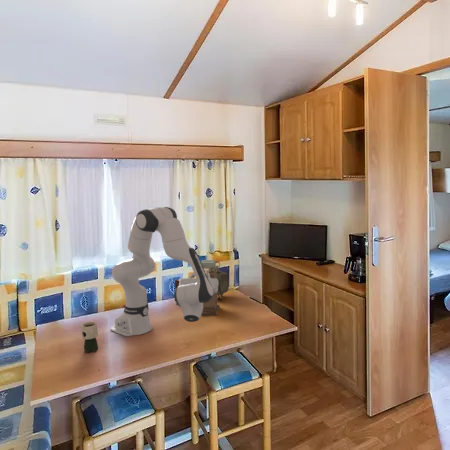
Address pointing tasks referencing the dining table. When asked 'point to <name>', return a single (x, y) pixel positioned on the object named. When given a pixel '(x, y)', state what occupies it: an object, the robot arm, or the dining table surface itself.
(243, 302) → the dining table surface
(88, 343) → the character mug
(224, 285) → the tabletop clock
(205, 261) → the mallet
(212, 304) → the walnut shelf
